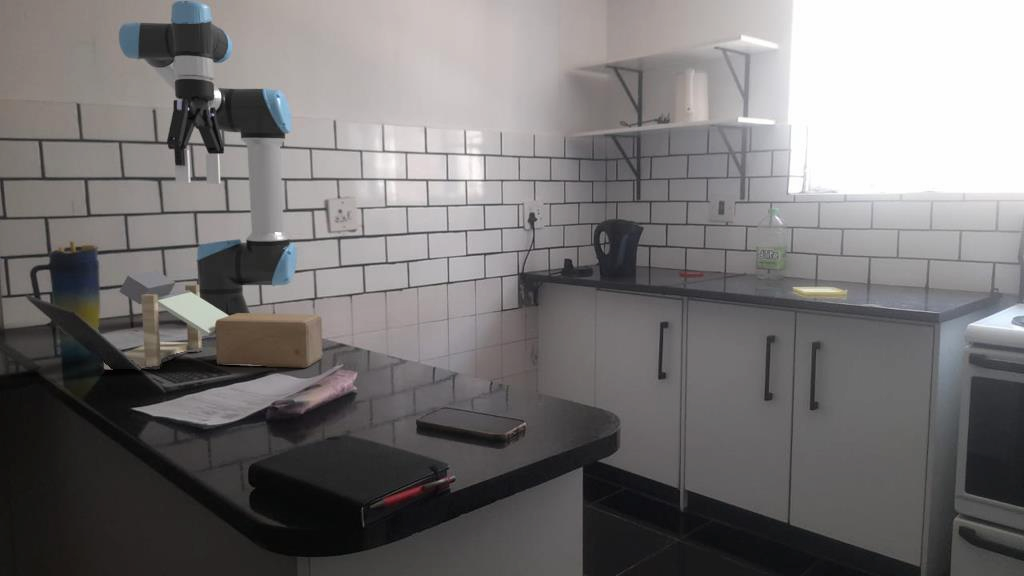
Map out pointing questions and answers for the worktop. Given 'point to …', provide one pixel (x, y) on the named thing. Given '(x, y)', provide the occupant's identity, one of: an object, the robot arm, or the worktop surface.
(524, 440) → the worktop surface
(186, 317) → the trapdoor
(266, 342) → the wooden block
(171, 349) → the trapdoor frame
